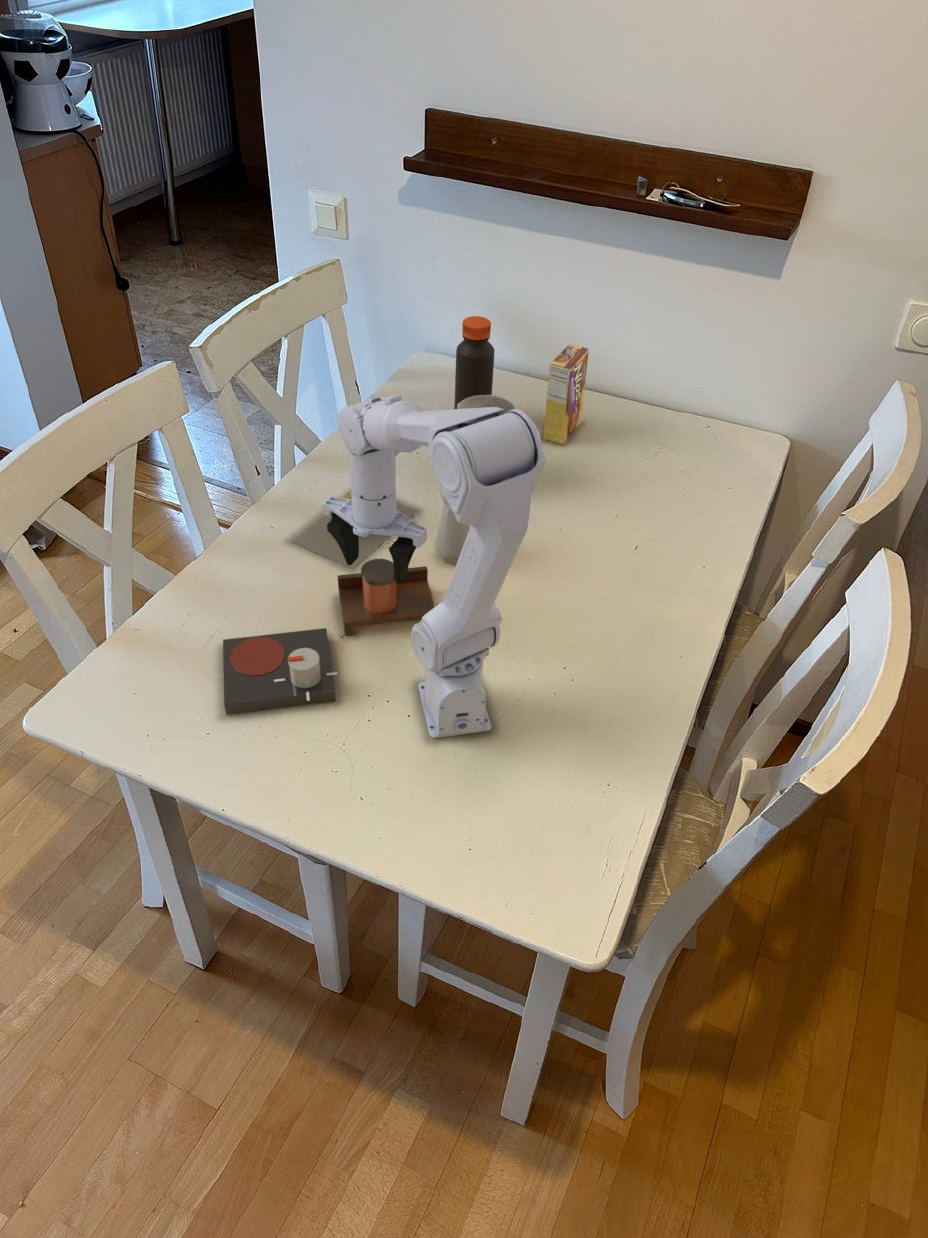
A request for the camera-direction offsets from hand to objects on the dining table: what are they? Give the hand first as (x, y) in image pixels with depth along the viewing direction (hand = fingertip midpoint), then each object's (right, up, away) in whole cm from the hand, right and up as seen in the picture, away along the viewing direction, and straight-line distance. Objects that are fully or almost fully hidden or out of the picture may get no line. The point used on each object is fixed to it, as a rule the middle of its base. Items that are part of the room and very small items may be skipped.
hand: (376, 569), depth 125 cm
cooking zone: (-16, -12, -3) cm, 20 cm away
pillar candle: (+15, +17, +33) cm, 40 cm away
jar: (0, -4, +5) cm, 6 cm away
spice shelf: (+1, -6, +7) cm, 9 cm away
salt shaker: (+10, +3, +17) cm, 20 cm away
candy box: (+30, +28, +45) cm, 61 cm away
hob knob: (-9, -14, -6) cm, 18 cm away
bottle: (+14, +30, +46) cm, 56 cm away
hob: (-13, -14, -3) cm, 19 cm away
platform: (-5, +8, +22) cm, 24 cm away
